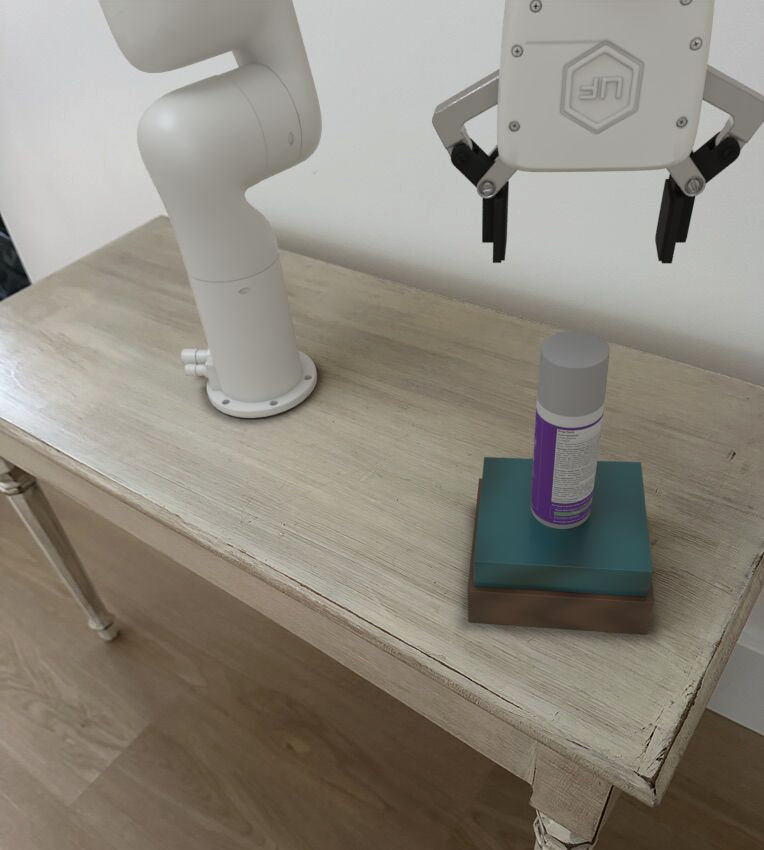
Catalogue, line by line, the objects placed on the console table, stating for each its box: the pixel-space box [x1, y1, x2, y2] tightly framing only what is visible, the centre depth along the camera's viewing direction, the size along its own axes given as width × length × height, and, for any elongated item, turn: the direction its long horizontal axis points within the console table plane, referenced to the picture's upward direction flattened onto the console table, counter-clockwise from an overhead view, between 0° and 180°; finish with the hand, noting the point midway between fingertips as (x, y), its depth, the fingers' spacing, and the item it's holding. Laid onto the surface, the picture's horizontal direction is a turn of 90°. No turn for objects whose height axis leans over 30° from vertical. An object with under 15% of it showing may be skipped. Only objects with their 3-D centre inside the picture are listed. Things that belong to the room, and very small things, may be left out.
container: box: [531, 329, 611, 529], centre depth 58 cm, size 5×5×15 cm
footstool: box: [466, 456, 655, 635], centre depth 65 cm, size 14×13×7 cm
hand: (579, 252), depth 48 cm, fingers open, 9 cm apart
